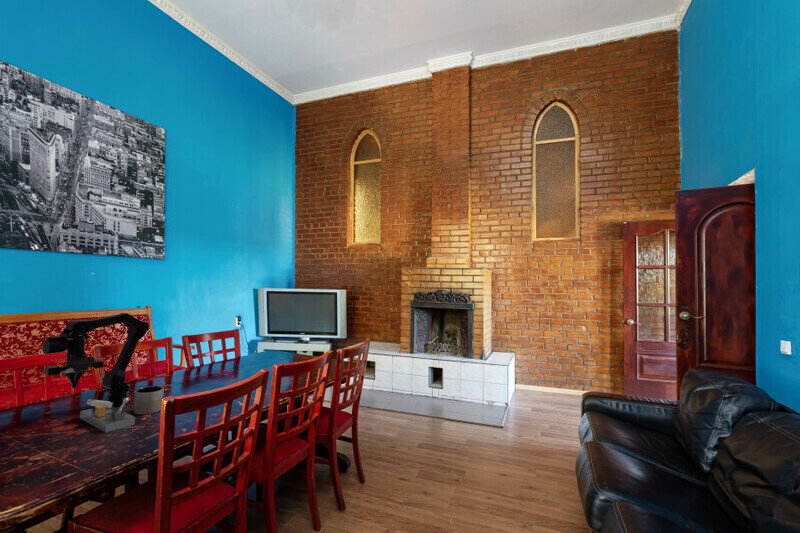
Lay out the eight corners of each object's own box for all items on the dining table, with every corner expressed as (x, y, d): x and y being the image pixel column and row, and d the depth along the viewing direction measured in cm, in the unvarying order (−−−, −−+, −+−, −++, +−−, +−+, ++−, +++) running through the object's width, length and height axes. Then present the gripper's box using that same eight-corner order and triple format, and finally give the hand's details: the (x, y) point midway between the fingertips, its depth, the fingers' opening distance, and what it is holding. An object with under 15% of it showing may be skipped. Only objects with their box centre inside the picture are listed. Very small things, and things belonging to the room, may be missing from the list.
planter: (168, 407, 176) (169, 386, 176) (150, 416, 165) (152, 393, 165) (146, 406, 177) (147, 385, 177) (127, 414, 166) (128, 392, 166)
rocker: (106, 405, 166) (108, 401, 167) (110, 407, 164) (113, 403, 165) (86, 403, 160) (88, 398, 161) (90, 405, 158) (92, 400, 159)
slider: (101, 413, 157) (102, 404, 157) (105, 415, 156) (105, 406, 156) (94, 415, 155) (95, 406, 155) (98, 417, 154) (98, 408, 154)
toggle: (117, 416, 154) (128, 398, 157) (119, 417, 153) (130, 398, 156) (112, 415, 153) (123, 396, 156) (114, 416, 151) (126, 397, 155)
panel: (108, 411, 168) (108, 399, 168) (134, 424, 155) (135, 410, 155) (80, 418, 160) (80, 405, 160) (105, 432, 147) (106, 418, 147)
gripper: (54, 356, 150) (51, 397, 150) (110, 349, 166) (108, 386, 165) (44, 352, 156) (41, 391, 155) (99, 346, 172) (97, 381, 171)
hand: (73, 387), depth 162 cm, fingers closed
